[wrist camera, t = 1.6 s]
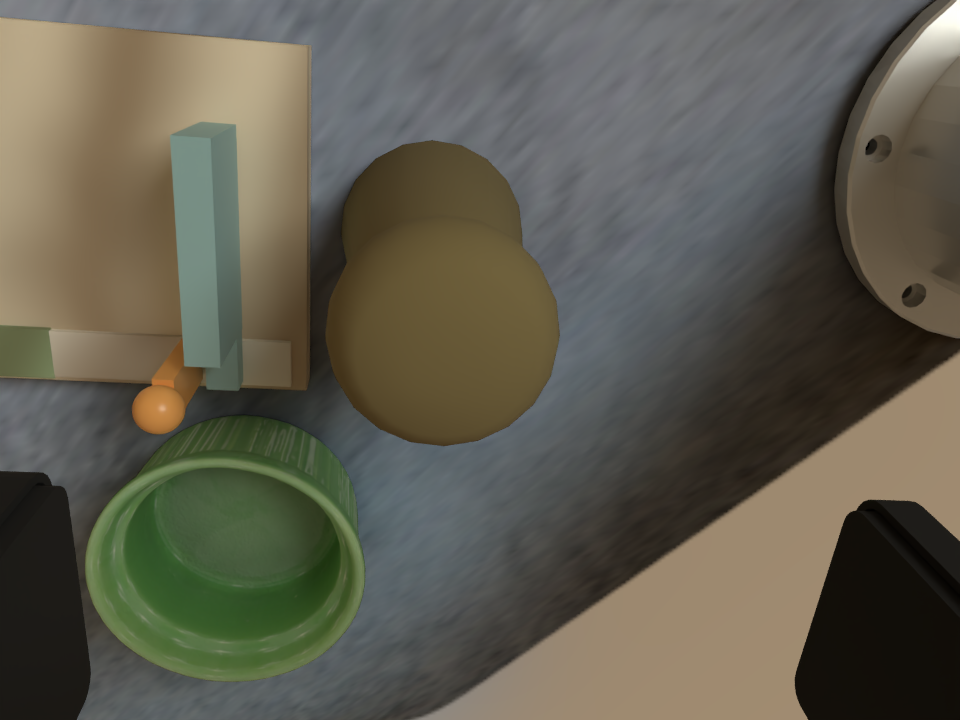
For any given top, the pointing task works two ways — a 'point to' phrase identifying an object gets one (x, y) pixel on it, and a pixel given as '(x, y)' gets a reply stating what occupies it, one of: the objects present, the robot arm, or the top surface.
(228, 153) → the pad
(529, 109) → the top surface
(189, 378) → the ball-ended orange rod
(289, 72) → the stand
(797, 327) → the top surface
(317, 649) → the ramekin
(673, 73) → the top surface
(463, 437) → the cork
